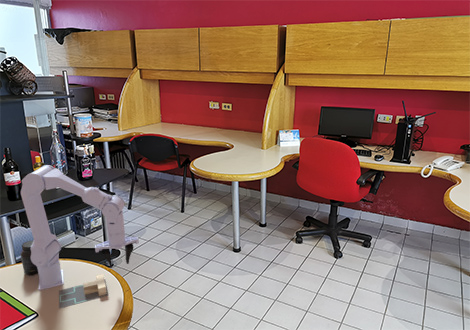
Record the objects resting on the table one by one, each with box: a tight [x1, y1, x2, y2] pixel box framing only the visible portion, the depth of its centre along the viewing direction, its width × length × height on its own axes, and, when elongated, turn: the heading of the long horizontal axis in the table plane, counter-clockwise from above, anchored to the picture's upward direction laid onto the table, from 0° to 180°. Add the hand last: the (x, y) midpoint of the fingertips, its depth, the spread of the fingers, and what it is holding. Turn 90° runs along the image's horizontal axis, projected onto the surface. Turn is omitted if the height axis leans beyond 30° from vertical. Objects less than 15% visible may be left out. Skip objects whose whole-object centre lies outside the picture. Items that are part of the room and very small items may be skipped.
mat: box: [58, 278, 109, 310], centre depth 122 cm, size 10×16×1 cm, turn 116°
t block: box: [82, 273, 107, 296], centre depth 123 cm, size 8×7×3 cm
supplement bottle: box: [20, 240, 39, 277], centre depth 132 cm, size 7×7×12 cm
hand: (119, 264), depth 125 cm, fingers open, 5 cm apart
